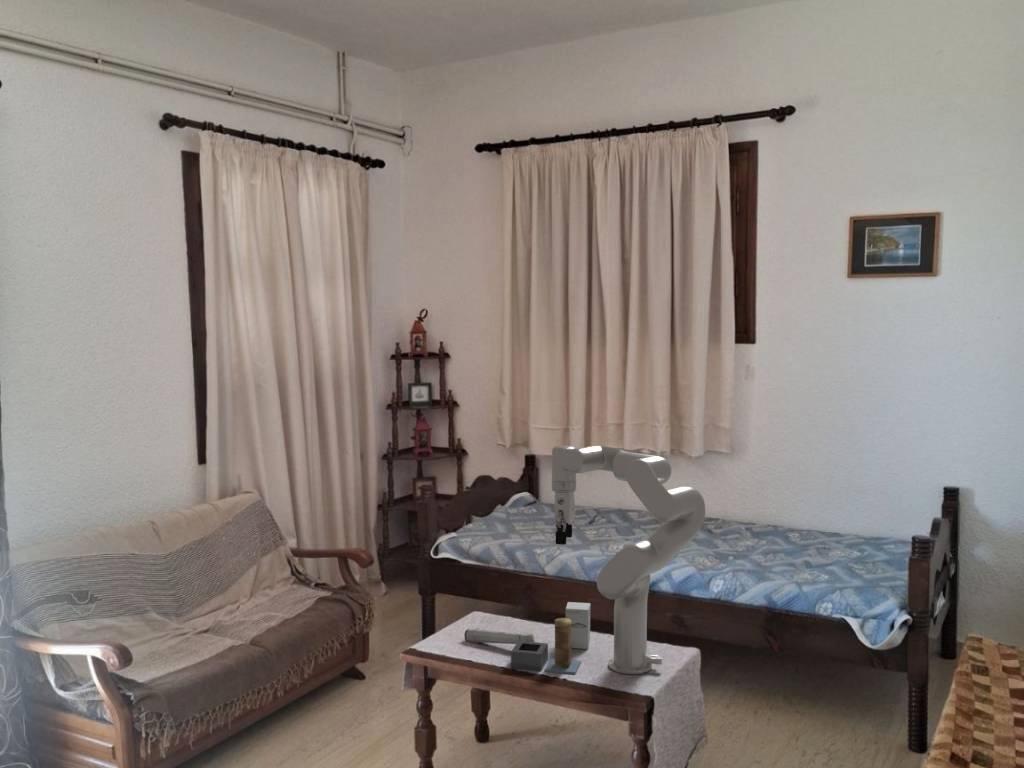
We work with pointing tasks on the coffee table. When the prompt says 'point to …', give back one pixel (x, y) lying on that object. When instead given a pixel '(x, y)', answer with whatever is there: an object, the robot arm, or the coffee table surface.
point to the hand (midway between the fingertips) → (563, 540)
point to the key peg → (562, 642)
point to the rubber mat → (570, 670)
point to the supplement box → (579, 624)
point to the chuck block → (529, 655)
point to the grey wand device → (496, 636)
